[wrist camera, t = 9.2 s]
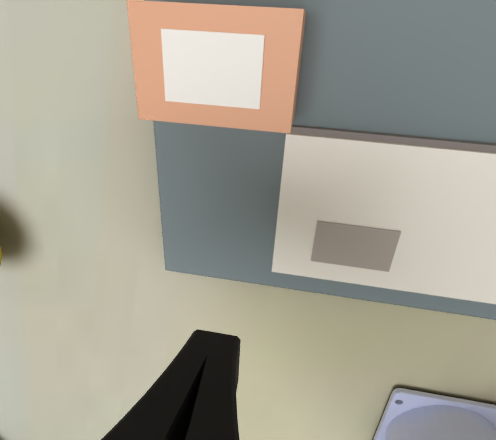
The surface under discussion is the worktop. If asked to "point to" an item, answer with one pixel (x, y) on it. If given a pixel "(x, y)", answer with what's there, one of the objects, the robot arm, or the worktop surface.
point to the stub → (216, 63)
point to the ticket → (389, 212)
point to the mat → (329, 116)
